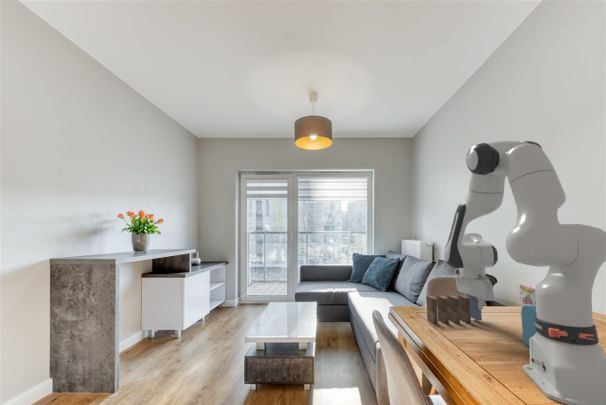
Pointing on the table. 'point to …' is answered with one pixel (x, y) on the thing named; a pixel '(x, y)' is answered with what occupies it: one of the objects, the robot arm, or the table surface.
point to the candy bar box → (527, 295)
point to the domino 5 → (474, 308)
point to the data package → (528, 323)
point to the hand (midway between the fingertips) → (474, 307)
